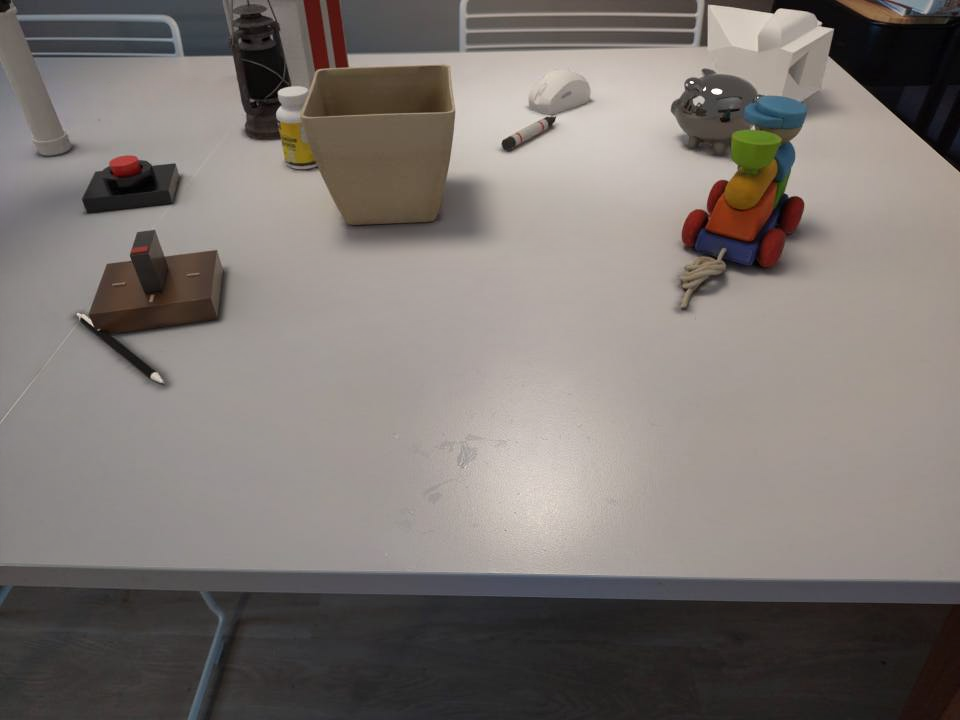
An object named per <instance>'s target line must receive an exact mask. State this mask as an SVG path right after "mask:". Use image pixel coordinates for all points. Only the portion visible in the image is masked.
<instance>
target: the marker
mask: <svg viewBox="0 0 960 720" xmlns="http://www.w3.org/2000/svg"><path fill="white" fill-rule="evenodd" d="M556 119H557V116H545V117H542V118H541V119H539V120H537V121H535V122H533V123H531V124H529V125H527V126H525V127H524V128H522V129H520V130H518V131H516V132H515V133H513V134H511V135H509V136H508V137H506V138H504V139H502V141H501V147H502V149H503V150H504V151H506V152H507V151H510V150H513V149H514V148H516V147H517V146H520V145H521V144H523V143H525V142H526V141H529V140H531V139H533V138H534V137H536V136H537V135H539V134H541V133H543V132H545V131H546V130H548V129H550V128H552V126H553V124H555V122H556Z"/></svg>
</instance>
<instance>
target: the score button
mask: <svg viewBox="0 0 960 720" xmlns="http://www.w3.org/2000/svg"><path fill="white" fill-rule="evenodd" d="M139 160H140V159H139V158H138V156H135V155H131V154H129V155H128V154H126V155H120V156H117V157H114V158H112V159H111V160H109V162H108V166H110V168H111V170H112V173H113V175H116V176H125V175H130V174H134V173H137V172H138V171H140V170H141V166H140V163H139Z"/></svg>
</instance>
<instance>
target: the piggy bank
mask: <svg viewBox="0 0 960 720" xmlns="http://www.w3.org/2000/svg"><path fill="white" fill-rule="evenodd" d="M701 74H702V76H701V77H696V76H695V77H688V78H687V79H686V80H685V81H684V85H683V86H684V91H683V92H682V93H681V95H680V97H679V98H676V99H674V100H673V101H672V103H671V106H670V113H671V114H672V115H673V116H674V118H675V121H676V122H677V124H678V126H679V127H680V128H681V130H682V131H683V132H684V133H685V134H686V135H687V136H688V138H687V142H686V146H687V148H689V149H693V150H694V149H697V148H698V147H700V145H701V144H702V143H704V144H708V145H711V150H712V153H713V154H714V155H716V156H722V155H724V154H725V152H726V149H727V147H728V146H731V142H732V134H733V133H734V132H736V131H741V130H752V129H753V127H754V125H752V124H750V123H748V122H746V121H745V119H744V117H743V114H744V110H745V107H746V106H747V105H749V104H751V103H755V102H757V100H758V99H759V98H760V97H763V96H765V95H761V94H758V92H757V90H756V88H755V87H754V86H753V85H752V84H751V83H750V82H749V81H747V80H745V79H743V78H741V77H738V76H735V75H730V74H718V73H717V71H716V70H714V69H711V68H706V67H704V68H702V69H701Z"/></svg>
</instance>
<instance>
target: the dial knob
mask: <svg viewBox="0 0 960 720" xmlns="http://www.w3.org/2000/svg"><path fill="white" fill-rule="evenodd" d="M159 239H160V238H159V237H158V234H157V231H156V229H151V230H150V229H149V230H141V231H136V234H135V238H134V241H133V242H132V243H133V244H132V247H131V249H130V253H129V258H130V261H132V263H133V266H134V268H135V271H136V273H137V276H138V278H139V281H140V283H141V286H142V288H143V291H144V293H151V292H158V291H163V286H164V282H165V278H166V274H167V269H168V265H167V262H166V259H165V256H166V255H165V253H164V251H163V248H162V245H161V243H160V240H159Z"/></svg>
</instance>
